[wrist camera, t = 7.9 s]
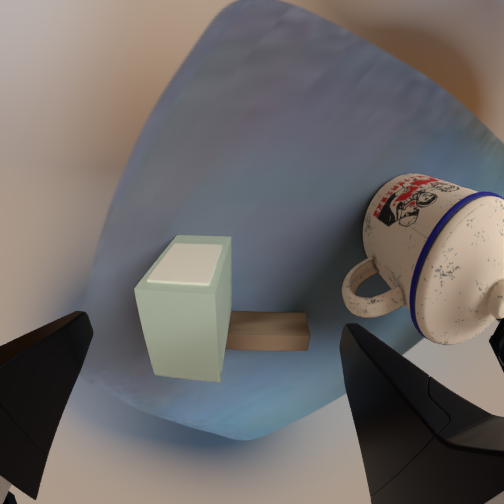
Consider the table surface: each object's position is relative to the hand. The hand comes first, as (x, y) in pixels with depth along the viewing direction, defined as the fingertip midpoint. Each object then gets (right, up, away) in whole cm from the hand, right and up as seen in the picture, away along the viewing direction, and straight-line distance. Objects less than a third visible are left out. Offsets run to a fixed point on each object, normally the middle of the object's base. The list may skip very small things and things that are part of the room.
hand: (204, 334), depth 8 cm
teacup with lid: (+13, +4, +11) cm, 17 cm away
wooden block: (0, -3, +14) cm, 14 cm away
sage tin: (-2, +1, +12) cm, 13 cm away
